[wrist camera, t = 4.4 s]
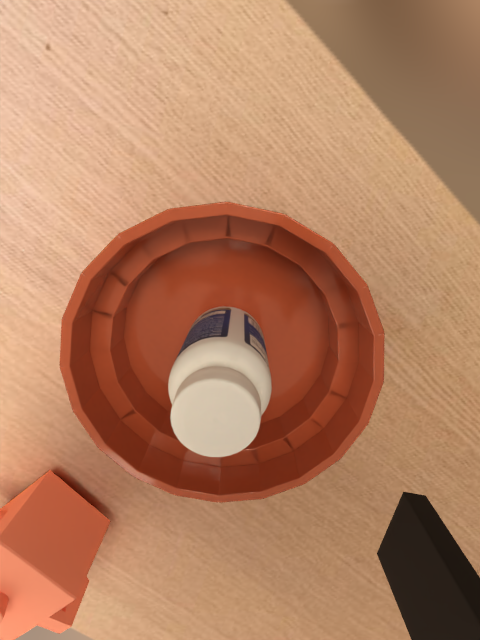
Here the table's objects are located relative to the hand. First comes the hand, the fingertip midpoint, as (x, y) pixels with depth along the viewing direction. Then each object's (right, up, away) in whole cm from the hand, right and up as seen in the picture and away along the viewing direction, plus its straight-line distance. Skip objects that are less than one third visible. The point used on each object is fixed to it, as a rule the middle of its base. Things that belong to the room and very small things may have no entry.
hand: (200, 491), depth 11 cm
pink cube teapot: (-15, -10, +18) cm, 26 cm away
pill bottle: (0, +4, +13) cm, 14 cm away
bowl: (0, +4, +13) cm, 14 cm away
